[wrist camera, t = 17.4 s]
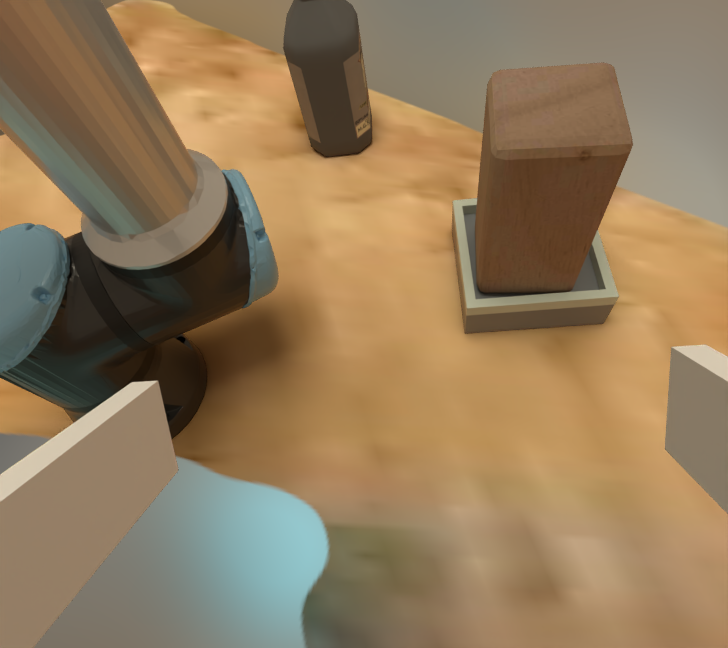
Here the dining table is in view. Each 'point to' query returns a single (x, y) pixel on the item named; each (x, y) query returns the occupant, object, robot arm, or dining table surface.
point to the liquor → (329, 75)
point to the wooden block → (546, 174)
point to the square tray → (528, 309)
